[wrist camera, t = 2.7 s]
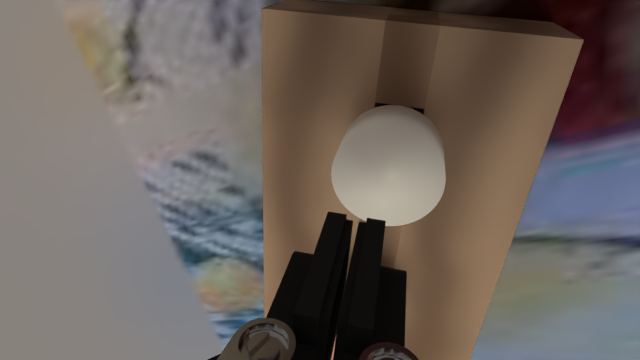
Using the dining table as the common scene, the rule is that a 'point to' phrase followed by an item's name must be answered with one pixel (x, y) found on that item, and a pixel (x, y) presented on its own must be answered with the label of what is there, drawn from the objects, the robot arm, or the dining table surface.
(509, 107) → the tan flat board
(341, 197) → the ivory knob
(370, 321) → the robot arm
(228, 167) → the dining table surface
